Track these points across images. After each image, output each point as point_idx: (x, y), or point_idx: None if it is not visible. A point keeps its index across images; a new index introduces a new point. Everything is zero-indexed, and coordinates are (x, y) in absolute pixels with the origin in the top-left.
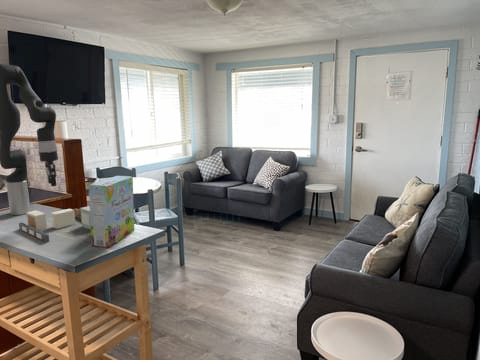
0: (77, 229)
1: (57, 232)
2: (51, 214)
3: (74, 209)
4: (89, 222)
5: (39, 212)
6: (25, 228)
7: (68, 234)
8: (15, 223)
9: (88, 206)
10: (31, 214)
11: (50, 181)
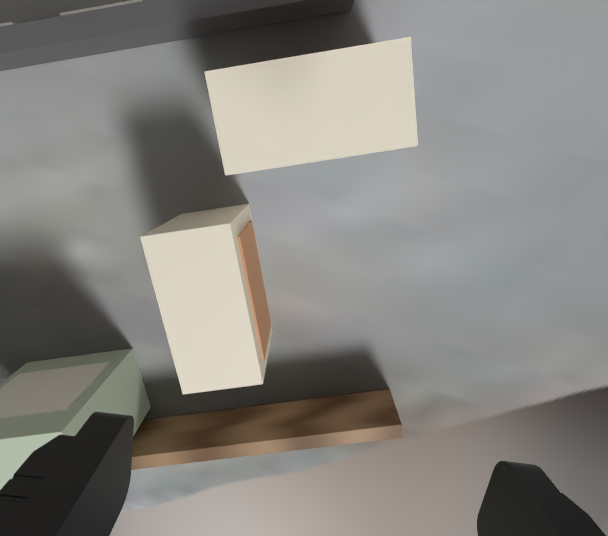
0: (83, 307)
1: (94, 191)
2: (221, 222)
3: (388, 423)
4: (3, 386)
5: (310, 143)
6: None
7: (10, 231)
8: (546, 3)
9: None
10: (292, 57)
11: (515, 520)
